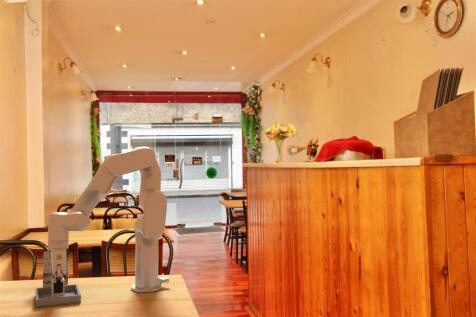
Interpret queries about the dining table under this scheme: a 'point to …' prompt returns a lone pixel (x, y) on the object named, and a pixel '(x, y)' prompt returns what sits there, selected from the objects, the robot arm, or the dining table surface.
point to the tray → (46, 300)
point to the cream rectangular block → (57, 293)
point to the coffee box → (48, 269)
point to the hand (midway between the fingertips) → (57, 289)
